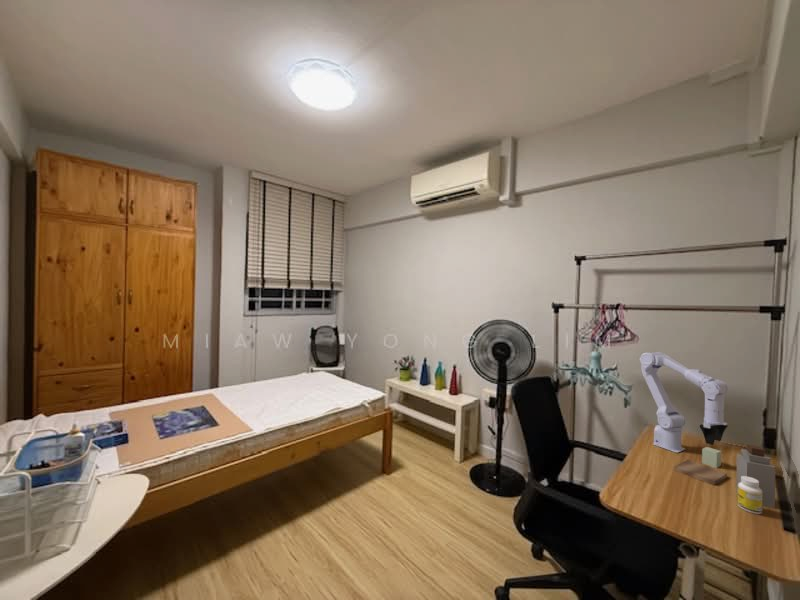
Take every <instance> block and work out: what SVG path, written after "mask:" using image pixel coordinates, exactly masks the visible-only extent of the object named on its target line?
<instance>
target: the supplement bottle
mask: <svg viewBox="0 0 800 600" xmlns="http://www.w3.org/2000/svg"><path fill="white" fill-rule="evenodd" d="M737 505H738V507H739V508H740V509H742V510H744V511H746V512H748V513H751V514H754V515H761V514H763V506H762V490H761V489H760V488H759V481H758V480H756V479H754V478H751V477H747V476H742V477H741V482H740V483H739V484H738V493H737Z"/></svg>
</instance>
